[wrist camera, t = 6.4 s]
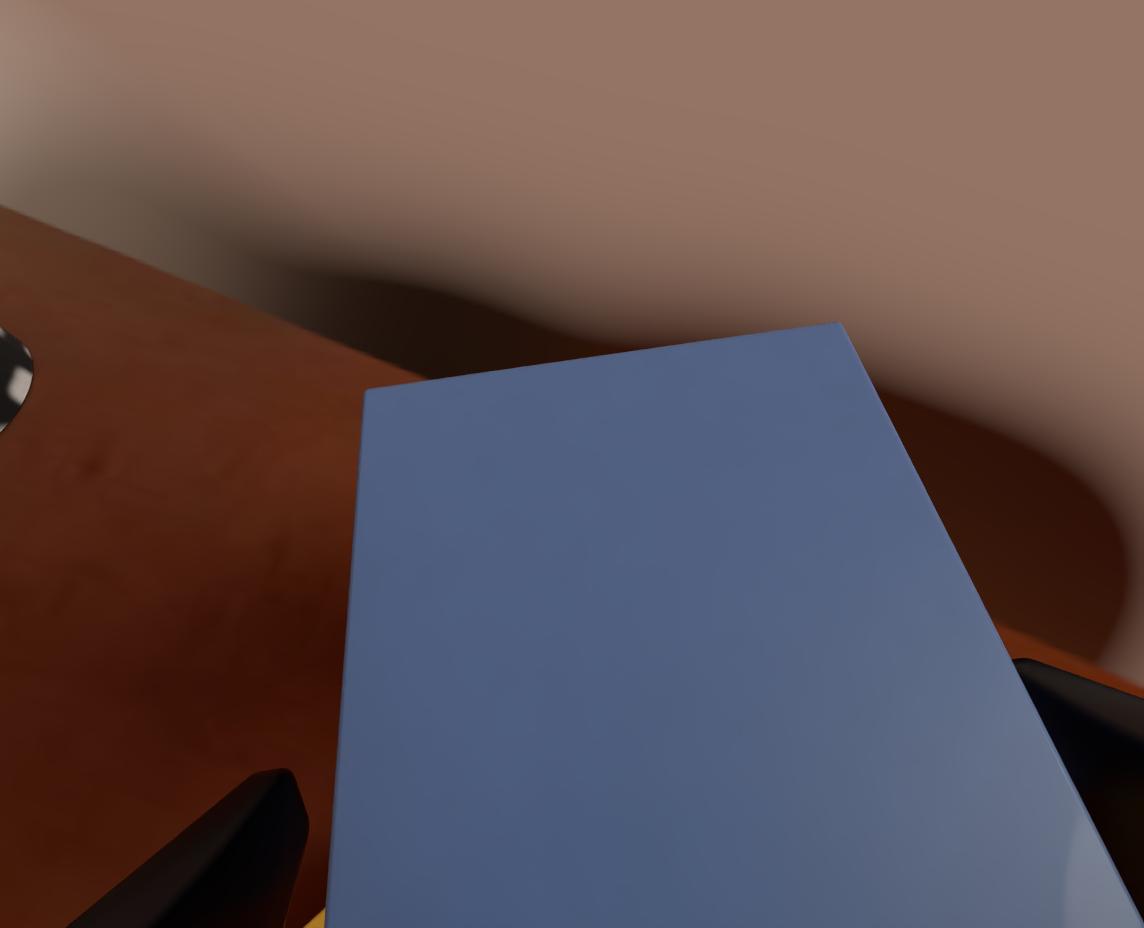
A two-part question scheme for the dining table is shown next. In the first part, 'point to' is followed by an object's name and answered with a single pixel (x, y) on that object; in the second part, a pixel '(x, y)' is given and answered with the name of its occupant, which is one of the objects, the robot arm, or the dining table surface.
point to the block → (682, 665)
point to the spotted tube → (13, 376)
